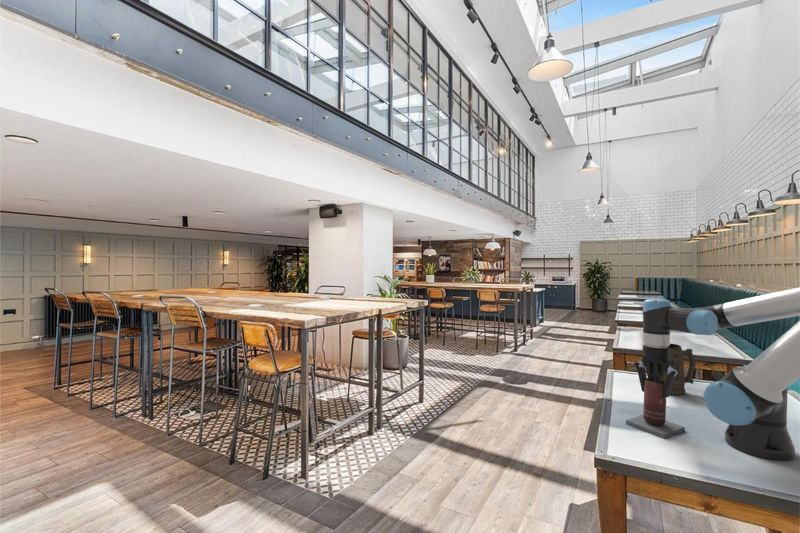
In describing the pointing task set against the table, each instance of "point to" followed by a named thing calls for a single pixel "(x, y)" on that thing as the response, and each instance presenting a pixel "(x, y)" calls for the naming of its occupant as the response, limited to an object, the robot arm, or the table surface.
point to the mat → (656, 427)
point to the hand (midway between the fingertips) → (655, 415)
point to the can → (654, 403)
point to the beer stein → (680, 368)
